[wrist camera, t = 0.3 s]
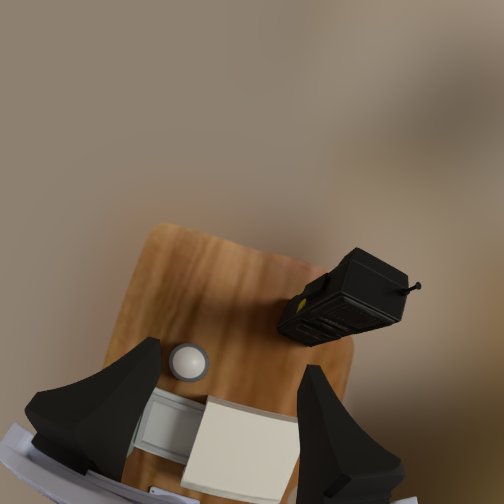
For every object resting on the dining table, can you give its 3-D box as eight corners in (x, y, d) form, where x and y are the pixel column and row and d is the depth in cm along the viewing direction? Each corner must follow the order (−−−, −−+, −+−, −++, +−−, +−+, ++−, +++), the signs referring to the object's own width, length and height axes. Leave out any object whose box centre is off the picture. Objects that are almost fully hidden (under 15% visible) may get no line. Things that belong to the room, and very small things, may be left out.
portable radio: (268, 329, 43) (337, 293, 20) (283, 295, 45) (357, 228, 22) (312, 349, 43) (414, 331, 20) (325, 315, 45) (427, 268, 22)
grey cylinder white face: (202, 384, 39) (202, 387, 35) (167, 372, 38) (163, 373, 35) (213, 351, 41) (214, 350, 37) (179, 339, 41) (176, 337, 37)
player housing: (269, 489, 33) (278, 505, 27) (183, 470, 33) (180, 486, 27) (295, 417, 38) (309, 425, 33) (208, 394, 38) (208, 401, 32)
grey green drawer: (207, 476, 33) (208, 491, 27) (125, 447, 32) (114, 458, 27) (232, 404, 38) (235, 412, 32) (147, 375, 37) (137, 378, 32)
